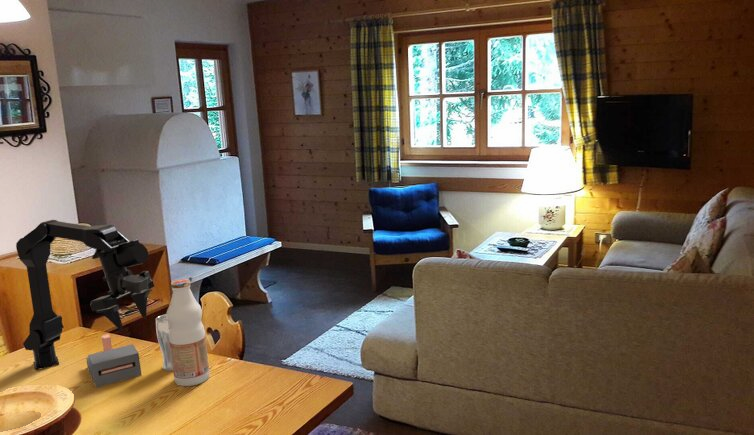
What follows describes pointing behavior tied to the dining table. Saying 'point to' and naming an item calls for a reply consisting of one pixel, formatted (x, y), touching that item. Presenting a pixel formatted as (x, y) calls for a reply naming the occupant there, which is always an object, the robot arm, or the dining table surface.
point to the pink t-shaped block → (108, 346)
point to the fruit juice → (187, 336)
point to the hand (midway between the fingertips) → (133, 322)
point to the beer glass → (164, 341)
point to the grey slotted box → (111, 360)
